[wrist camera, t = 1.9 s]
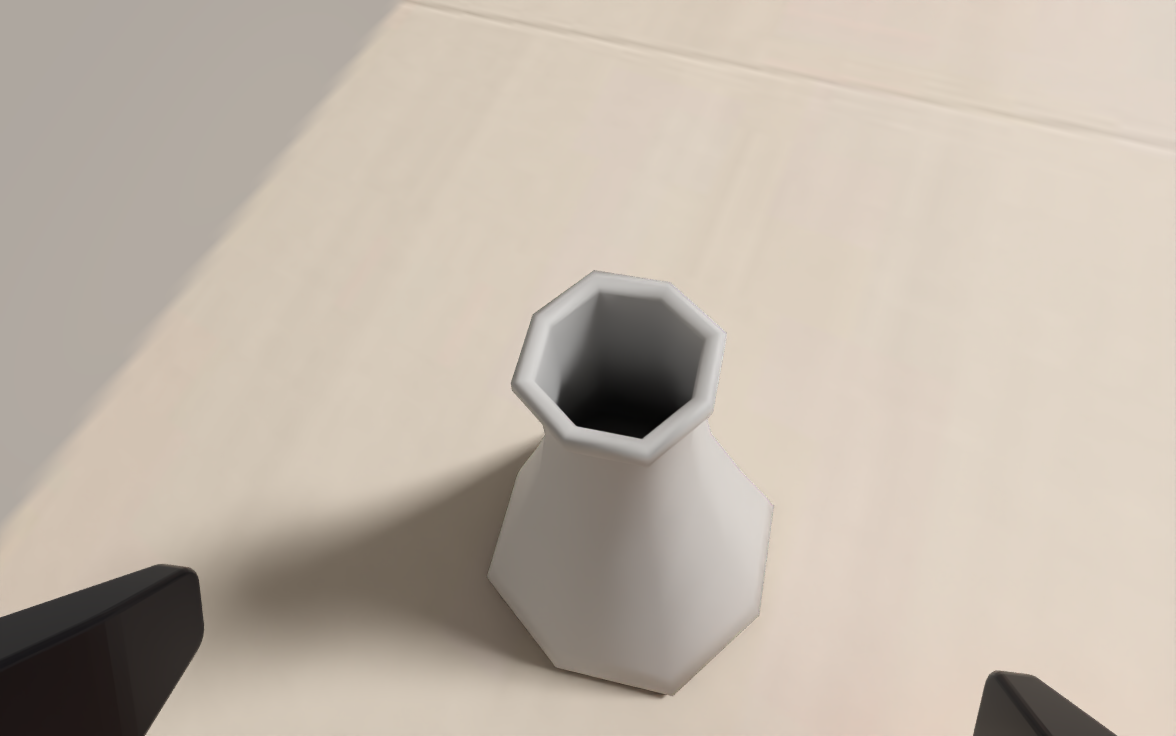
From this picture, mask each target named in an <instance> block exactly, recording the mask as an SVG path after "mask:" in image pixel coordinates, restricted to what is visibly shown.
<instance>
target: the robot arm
mask: <svg viewBox="0 0 1176 736" xmlns="http://www.w3.org/2000/svg"><path fill="white" fill-rule="evenodd" d="M203 633H204V621H203V612H202V603H201V594H200V585H199V579H198V576H197V574H196V572H195V571H194V570H193V569H191V568H189V567H183V566H175V565H168V564H158V565H154V566H151V567H148V568H145V569H142V570H139V571H136V572H133V573H130V574H127V575H125V576H122V577H119V578H116V579H113V580H110V581H107V582H104V583H101V584H98V585H95V586H92V587H89V588H86V589H83V590H80V591H77V592H74V593H71V594H68V595H65V596H62V597H60V598H57V599H54V600H51V601H48V602H45V603H42V604H39V605H36V606H33V607H30V608H27V609H24V610H21V611H18V612H15V613H12V614H9V615H6V616H3V617H0V736H145V735H146V733H147V732H148V730H149V728H150V727H151V725H152V723H153V722H154V720H155V719H156V717H157V715H158V714H159V712H160V711H161V709H162V707H163V706H164V704H165V702H166V701H167V699H168V698H169V696H170V694H171V693H172V691H173V689H174V688H175V686H176V685H177V683H178V681H179V680H180V678H181V677H182V675H183V673H184V672H185V670H186V668H187V667H188V665H189V664H190V662H191V660H192V659H193V657H194V655H195V654H196V652H197V651H198V649H199V647H200V644H201V642H202V638H203ZM973 736H1117V735H1116V734H1114V733H1113V732H1111V731H1110V730H1109V729H1107V728H1106V727H1105V726H1103V725H1102V724H1100V723H1099V722H1098V721H1096V720H1095V719H1093V718H1092V717H1091V716H1089V715H1088V714H1087V713H1085V712H1084V711H1082V710H1081V709H1080V708H1078V707H1077V706H1076V705H1074V704H1073V703H1071V702H1070V701H1069V700H1067V699H1066V698H1065V697H1063V696H1062V695H1060V694H1059V693H1058V692H1056V691H1055V690H1053V689H1052V688H1051V687H1049V686H1048V685H1047V684H1045V683H1044V682H1042V681H1041V680H1040V679H1038V678H1037V677H1035V676H1033V675H1029V674H1022V673H1014V672H1006V671H994V672H992V673H990V674H989V676H988V678H987V680H986V682H985V686H984V690H983V694H982V699H981V703H980V707H979V712H978V716H977V720H976V725H975V729H974V734H973Z"/></svg>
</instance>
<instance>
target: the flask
mask: <svg viewBox="0 0 1176 736" xmlns="http://www.w3.org/2000/svg"><path fill="white" fill-rule="evenodd" d="M726 335H727V333H726V332H725V331H724V330H723V329H722V328H721V327H720V326H719V325H718V324H716V323H715V322H714V321H713V320H712V319H711V318H710V317H709V316H708V315H706V314H705V313H704V312H703V311H702V310H701V309H700V308H699V307H698V306H696V305H695V304H694V303H693V302H692V301H691V300H690V299H689V298H688V297H686V296H685V295H684V294H683V293H682V292H681V291H680V290H679V289H678V288H676V287H675V286H674V285H673V284H672V283H671V282H665V281H659V280H653V279H646V278H640V277H633V276H627V275H621V274H614V273H608V272H602V271H595V270H594V271H592V272H591V273H590V274H588V275H587V276H585V277H584V278H583V279H581V280H580V281H578V282H577V283H576V284H574V285H573V286H572V287H570V288H569V289H567V290H566V291H565V292H563V293H562V294H560V295H559V296H558V297H556V298H555V299H553V300H552V301H551V302H549V303H548V304H547V305H545V306H544V307H542V308H541V309H540V310H538V311H537V312H535V313H534V314H533V316H532V319H531V322H530V325H529V328H528V331H527V334H526V337H525V341H524V344H523V347H522V350H521V353H520V356H519V359H518V363H517V366H516V369H515V372H514V375H513V378H512V381H511V387H512V391H513V392H514V393H515V394H516V395H517V397H518V398H519V399H520V400H521V401H522V402H523V403H524V404H525V406H526V407H527V408H528V409H529V410H530V411H531V412H532V413H533V414H534V416H535V417H536V418H537V419H538V420H539V421H540V422H541V423H542V424H543V428H544V433H545V435H544V437H543V439H542V440H541V442H540V444H539V445H538V447H537V448H536V450H535V451H534V452H533V453H532V455H531V456H530V457H529V458H528V460H527V461H526V462H525V464H524V465H523V466H522V467H521V469H520V471H519V472H518V474H517V477H516V480H515V484H514V487H513V490H512V494H511V497H510V500H509V504H508V507H507V511H506V514H505V517H504V521H503V524H502V527H501V531H500V534H499V538H498V541H497V544H496V548H495V551H494V554H493V558H492V561H491V564H490V568H489V571H488V575H487V578H488V579H489V581H490V582H491V583H492V585H493V586H494V587H495V589H496V590H497V591H498V592H499V594H500V595H501V596H502V598H503V599H504V600H505V602H506V603H507V604H508V606H509V607H510V608H511V609H512V611H513V612H514V613H515V615H516V616H517V617H518V619H519V620H520V621H521V623H522V624H523V625H524V626H525V628H526V629H527V630H528V632H529V633H530V634H531V636H532V637H533V638H534V639H535V641H536V642H537V643H538V645H539V646H540V647H541V649H542V650H543V651H544V653H545V654H546V655H547V656H548V658H549V659H550V660H551V662H552V663H553V664H554V666H555V667H556V668H561V669H565V670H569V671H573V672H577V673H581V674H585V675H589V676H593V677H597V678H601V679H605V680H609V681H613V682H617V683H621V684H625V685H629V686H633V687H638V688H642V689H646V690H650V691H654V692H658V693H662V694H666V695H670V696H673V695H675V694H676V693H677V692H678V691H679V690H680V689H681V688H682V687H683V686H684V685H685V684H686V683H687V682H688V681H689V680H691V679H692V678H693V677H694V676H695V675H696V674H697V673H698V672H699V671H700V670H701V669H702V668H703V667H704V666H706V665H707V664H708V663H709V662H710V661H711V660H712V659H713V658H714V657H715V656H716V655H717V654H718V653H719V652H721V651H722V650H723V649H724V648H725V647H726V646H727V645H728V644H729V643H730V642H731V641H732V640H733V639H734V638H735V637H737V636H738V635H739V634H740V633H741V632H742V631H743V630H744V629H745V628H746V627H747V626H748V625H749V624H750V623H752V622H753V621H754V620H755V619H756V618H757V617H758V616H759V613H760V605H761V598H762V591H763V583H764V576H765V568H766V561H767V554H768V546H769V539H770V531H771V524H772V516H773V509H774V505H773V504H772V503H771V502H770V500H769V499H768V498H767V497H766V496H765V495H764V493H763V492H762V491H761V490H760V489H759V488H758V487H757V486H756V485H755V484H754V483H753V482H752V481H751V480H750V479H749V478H748V477H747V476H746V475H745V474H744V473H743V472H742V471H741V470H740V468H739V467H738V466H737V465H736V463H735V462H734V461H733V460H732V458H731V457H730V456H729V455H728V453H727V452H726V451H725V450H724V448H723V447H722V446H721V445H720V443H719V442H718V441H717V440H716V438H715V437H714V436H713V435H712V433H711V429H710V426H709V422H708V419H707V418H709V417H710V415H711V414H712V413H713V410H714V404H715V399H716V393H717V388H718V382H719V377H720V371H721V366H722V361H723V355H724V350H725V344H726Z"/></svg>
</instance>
